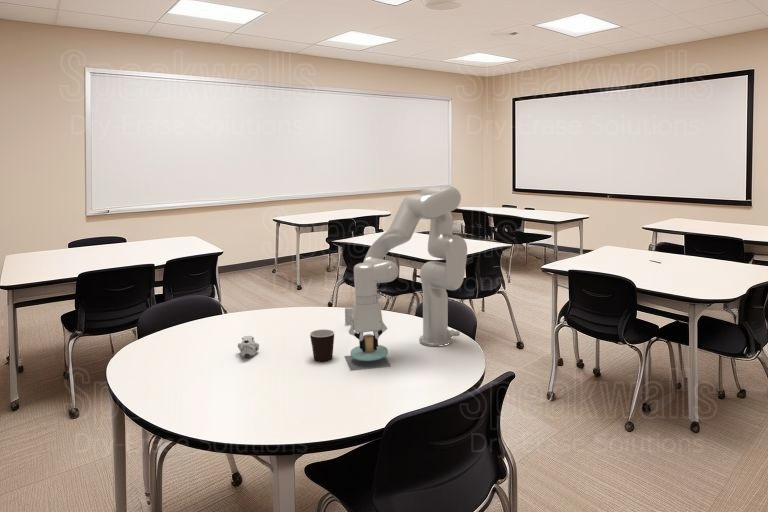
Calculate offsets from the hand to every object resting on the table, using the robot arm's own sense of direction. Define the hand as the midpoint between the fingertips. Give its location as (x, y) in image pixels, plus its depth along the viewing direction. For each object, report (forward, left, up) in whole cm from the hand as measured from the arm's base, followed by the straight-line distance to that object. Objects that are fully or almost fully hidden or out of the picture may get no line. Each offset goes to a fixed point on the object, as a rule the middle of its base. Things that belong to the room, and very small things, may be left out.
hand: (369, 349), depth 183 cm
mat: (+1, 0, -5) cm, 5 cm away
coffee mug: (+15, -8, -5) cm, 17 cm away
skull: (+42, -19, -5) cm, 46 cm away
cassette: (-4, -44, -5) cm, 44 cm away
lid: (0, 0, -2) cm, 2 cm away
